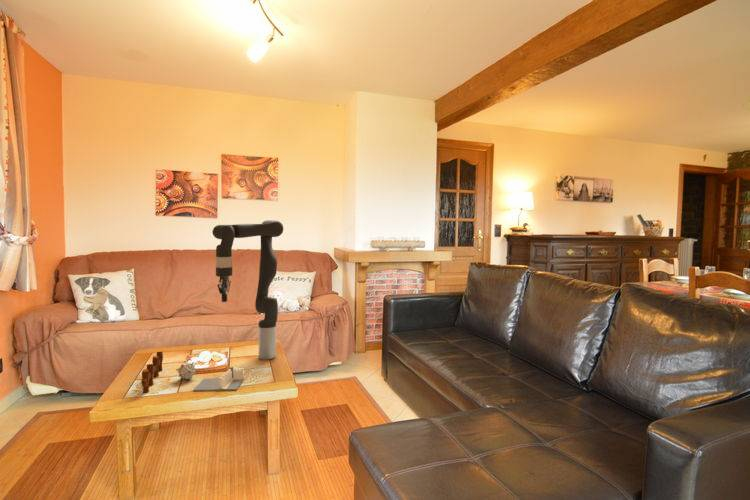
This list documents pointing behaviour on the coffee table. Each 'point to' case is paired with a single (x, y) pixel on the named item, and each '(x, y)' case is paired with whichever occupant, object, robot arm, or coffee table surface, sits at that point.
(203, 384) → the card
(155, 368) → the fence
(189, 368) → the grey spiky ball
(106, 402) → the coffee table surface
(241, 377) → the fixed panel
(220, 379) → the hinged panel
